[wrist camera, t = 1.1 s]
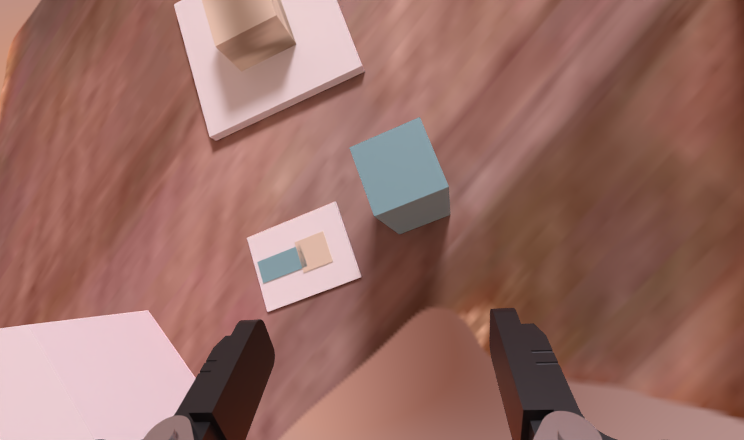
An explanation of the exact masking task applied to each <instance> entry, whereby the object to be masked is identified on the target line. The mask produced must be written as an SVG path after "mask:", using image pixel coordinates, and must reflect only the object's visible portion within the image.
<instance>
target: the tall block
mask: <svg viewBox="0 0 744 440" xmlns="http://www.w3.org/2000/svg"><path fill="white" fill-rule="evenodd" d="M350 150H351V153H352V156H353V159H354V161H355V164H356V167H357V170H358V173H359V175H360V178H361V181H362V184H363V186H364V189H365V192H366V195H367V198H368V200H369V203H370V206H371V209H372V211H373V214H374V217H376V218H377V219H379V220H380V221H381V222H383V223H384V224H386V225H387V226H388V227H390V228H391V229H392V230H394V231H395V232H397V233H398V234H402V233H405V232H407V231H410V230H412V229H415V228H418V227H420V226H423V225H425V224H428V223H431V222H433V221H436V220H438V219H441V218H444V217H446V216H449V215H450V201H449V186H448V184H447V181H446V179H445V177H444V174H443V172H442V169H441V167H440V164H439V162H438V160H437V157H436V155H435V152H434V150H433V148H432V145H431V143H430V140H429V138H428V136H427V133H426V131H425V128H424V126H423V124H422V121H421V119H420V117H419V118H417V119H414V120H412V121H410V122H407V123H405V124H403V125H400V126H398V127H396V128H393V129H391V130H389V131H387V132H384V133H382V134H380V135H377V136H375V137H373V138H370V139H368V140H366V141H364V142H361V143H359V144H357V145H354V146H352V147H350Z"/></svg>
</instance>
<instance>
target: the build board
mask: <svg viewBox="0 0 744 440" xmlns="http://www.w3.org/2000/svg"><path fill="white" fill-rule="evenodd" d="M281 2H282V4H283V7H284V10H285V13H286V16H287V19H288V22H289V25H290V27H291V30H292V33H293V36H294V39H295V42H296V45H294V46H292V47H290V48H288V49H286V50H284V51H282V52H280V53H278V54H276V55H274V56H272V57H270V58H268V59H266V60H264V61H262V62H260V63H258V64H256V65H254V66H252V67H249V68H247V69H245V70H243V71H240V70H239V69H238V68H237V67H236V66H235V65H234V64H233V63H232V62H231V61H230V60H229V59H228V58H227V57H226V56H225V55H224V54H223V53H222V52H221V51H219V50H218V49H217V48H216V47H215V44H214V41H213V37H212V34H211V30H210V27H209V23H208V20H207V17H206V13H205V10H204V6H203V3H202V0H181V1H180V2H178V3H176V4H174V7H175V10H176V14H177V18H178V22H179V25H180V29H181V33H182V36H183V40H184V44H185V47H186V51H187V55H188V59H189V62H190V66H191V70H192V73H193V77H194V81H195V85H196V88H197V92H198V96H199V99H200V103H201V107H202V110H203V114H204V118H205V122H206V125H207V129H208V133H209V136H210V138H212V139H214V140H216V141H217V140H219V139H221V138H223V137H226V136H228V135H230V134H232V133H234V132H236V131H238V130H241V129H243V128H245V127H247V126H249V125H251V124H253V123H256V122H258V121H260V120H262V119H264V118H266V117H268V116H271V115H273V114H275V113H277V112H279V111H281V110H283V109H286V108H288V107H290V106H292V105H294V104H296V103H299V102H301V101H303V100H305V99H307V98H309V97H311V96H314V95H316V94H318V93H320V92H322V91H324V90H326V89H329V88H331V87H333V86H335V85H337V84H339V83H341V82H344V81H346V80H348V79H350V78H352V77H354V76H356V75H359V74H361V73H363V72H365V71H364V68H363V66H362V63H361V61H360V58H359V56H358V53H357V51H356V48H355V45H354V43H353V40H352V38H351V35H350V33H349V30H348V27H347V25H346V22H345V20H344V17H343V15H342V12H341V10H340V7H339V4H338V2H337V0H281Z"/></svg>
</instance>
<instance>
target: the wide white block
mask: <svg viewBox="0 0 744 440" xmlns="http://www.w3.org/2000/svg"><path fill="white" fill-rule="evenodd" d="M195 379H196V378H195V377H194V375H193V374H192V372H191V371H190V369H189V368H188V367H187V365H186V364H185V362H184V361H183V359H182V358H181V357H180V355H179V354H178V352H177V351H176V349H175V348H174V347H173V345H172V344H171V342H170V341H169V339H168V338H167V337H166V335H165V334H164V332H163V331H162V329H161V328H160V327H159V325H158V324H157V322H156V321H155V319H154V318H153V316H152V315H151V314H150V312H149V311H148V310H146V311H138V312H129V313H121V314H113V315H105V316H96V317H88V318H80V319H72V320H63V321H55V322H47V323H38V324H30V325H22V326H15V327H7V328H0V440H98V439H103V440H142V439H144V437H145V436H146V435H147V433H148V432H149V431H150V430H151V429H152V428H153V427H154V426H155V425H157V424H158V423H159V422H161V421H163V420H164V419H166V418H169V417H172V416H174V414H175V413H176V411H177V410H178V408H179V406H180V404H181V403H182V401H183V399H184V398H185V396H186V394H187V392H188V391H189V389H190V387H191V386H192V384H193V382H194V380H195Z"/></svg>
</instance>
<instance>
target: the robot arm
mask: <svg viewBox="0 0 744 440" xmlns="http://www.w3.org/2000/svg"><path fill="white" fill-rule="evenodd" d="M490 352H491V358H492V362H493V366H494V370H495V374H496V378H497V382H498V386H499V390H500V393H501V397H502V401H503V405H504V409H505V413H506V416H507V421H508V425H509V428H510V432H511V436H512V440H616V439H613V438H611V437H609V436H607V435H605V434H603V433H601V432H600V431H598V430H597V429H596V428H595V427H594V426H593V425H592V424H591V423H590V422H589V421H587V420H586V419H585V418H584V417H583V415H582V414H581V412H580V410H579V408H578V406H577V403H576V401H575V399H574V397H573V395H572V393H571V390H570V388H569V386H568V383H567V381H566V379H565V377H564V375H563V372H562V370H561V368H560V366H559V365H558V361H557V359H556V357H555V355H554V353H553V352H552V348H551V346H550V343H549V341H548V339H547V337H546V335H545V334H544V333H543V332H542V331H541V330H540V329H539V328H538V327H537V326H536V325H535V324H534V323H533V324H521V323H520V320H519V317H518V315H517V312H516V310H515V309H514V308H502V309H491V310H490ZM274 360H275V353H274V348H273V345H272V342H271V340H270V337H269V334H268V332H267V329H266V326H265V324H264V322H263V321H262V320H241V321H239V322H238V324H237V325H236V327H235V329H234V331H233V333H232V334H231V336H225V337H224V338H223V339H222V340H221V341H220V342H219V343H218V344H217V345H216V346H215V347H214V348H213V350H212V351H211V353H210V355H209V357H208V358H207V360H206V363H204V365H203V367H202V369H201V370H200V374H198V375H197V377H196V379H195V380H194V382H193V384H192V386H191V387H190V389H189V391H188V392H187V394H186V396H185V398H184V399H183V401H182V403H181V404H180V406H179V408H178V410H177V411H176V413H175V414H174V416H172V417H169V418H166V419H164V420H163V421H161V422H159V423H158V424H157V425H155V426H154V427H153V428H152V429H151V430H150V431H149V432H148V433H147V435H146V436H145V437H144V439H142V440H245V439H246V437H247V434H248V431H249V429H250V426H251V424H252V421H253V418H254V416H255V413H256V410H257V408H258V405H259V403H260V400H261V397H262V395H263V392H264V389H265V387H266V384H267V382H268V379H269V376H270V374H271V371H272V368H273V365H274ZM98 440H103V439H98Z"/></svg>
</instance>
